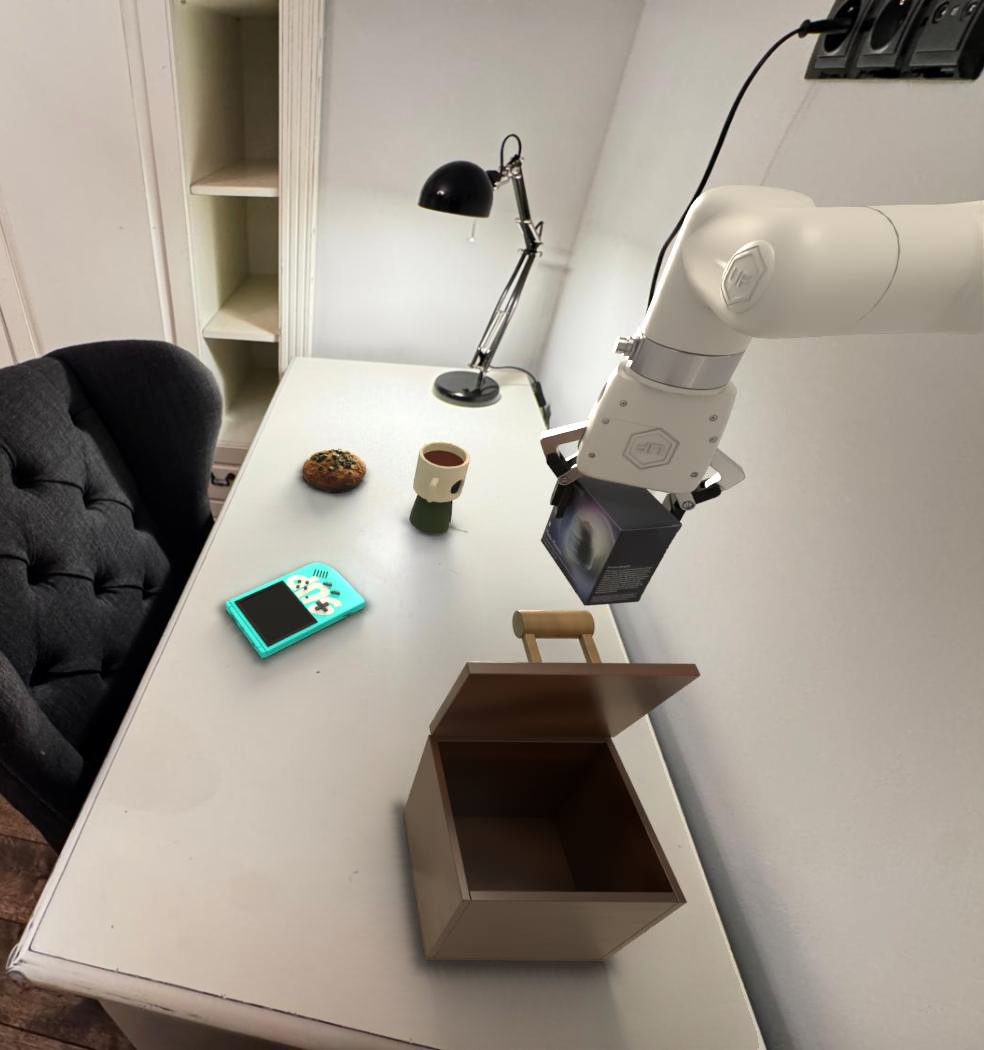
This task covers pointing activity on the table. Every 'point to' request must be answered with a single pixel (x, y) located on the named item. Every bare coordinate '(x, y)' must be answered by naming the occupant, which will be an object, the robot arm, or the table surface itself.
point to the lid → (556, 687)
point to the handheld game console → (293, 607)
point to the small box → (609, 540)
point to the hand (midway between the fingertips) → (606, 521)
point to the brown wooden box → (532, 850)
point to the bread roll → (334, 470)
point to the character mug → (438, 485)
